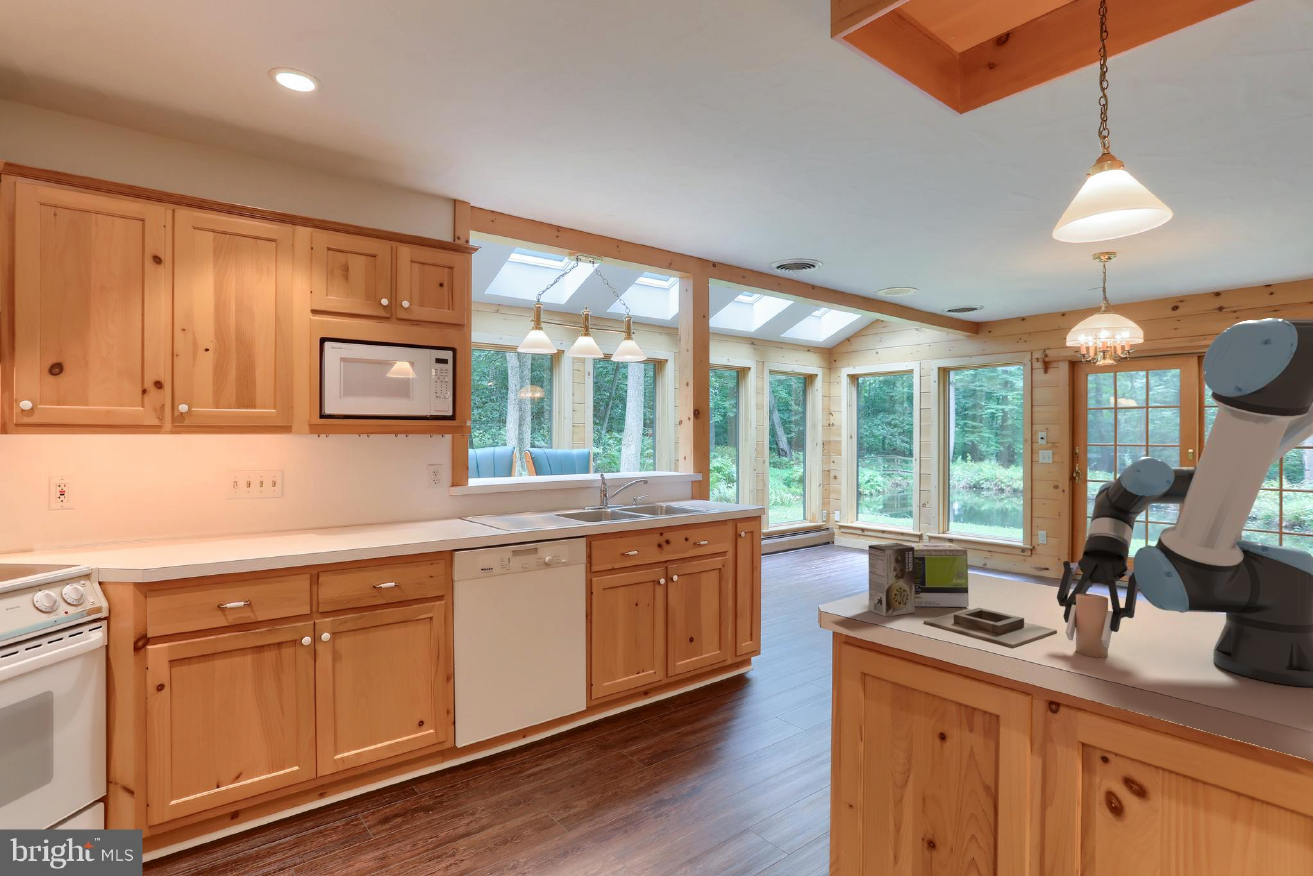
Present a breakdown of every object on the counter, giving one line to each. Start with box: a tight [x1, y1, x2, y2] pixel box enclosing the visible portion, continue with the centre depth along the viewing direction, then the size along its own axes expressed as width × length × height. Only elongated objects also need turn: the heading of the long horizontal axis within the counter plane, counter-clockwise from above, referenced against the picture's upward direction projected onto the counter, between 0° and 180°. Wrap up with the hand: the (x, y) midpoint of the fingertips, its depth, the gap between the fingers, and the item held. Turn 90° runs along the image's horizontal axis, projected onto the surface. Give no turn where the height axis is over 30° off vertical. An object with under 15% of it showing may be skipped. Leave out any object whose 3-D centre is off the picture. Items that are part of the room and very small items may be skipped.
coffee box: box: [868, 542, 916, 617], centre depth 153 cm, size 9×6×16 cm
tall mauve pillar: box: [1075, 593, 1109, 658], centre depth 123 cm, size 5×5×11 cm
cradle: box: [922, 607, 1058, 648], centre depth 140 cm, size 20×18×3 cm
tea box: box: [899, 542, 970, 608], centre depth 161 cm, size 15×10×15 cm, turn 84°
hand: (1086, 639), depth 121 cm, fingers closed on tall mauve pillar, 5 cm apart
